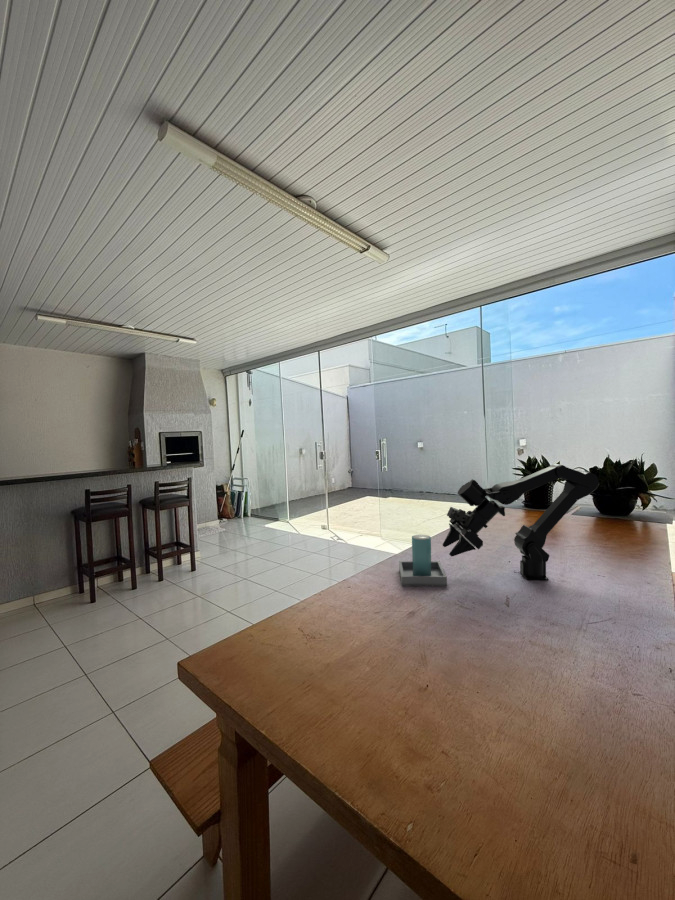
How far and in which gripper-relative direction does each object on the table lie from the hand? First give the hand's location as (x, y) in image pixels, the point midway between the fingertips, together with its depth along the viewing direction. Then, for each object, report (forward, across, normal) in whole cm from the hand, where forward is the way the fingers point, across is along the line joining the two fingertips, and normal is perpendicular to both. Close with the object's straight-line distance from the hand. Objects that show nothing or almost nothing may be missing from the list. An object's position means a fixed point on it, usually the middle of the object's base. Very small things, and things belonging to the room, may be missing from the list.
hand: (446, 550), depth 124 cm
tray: (+12, 0, 0) cm, 12 cm away
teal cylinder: (+11, 0, 0) cm, 11 cm away
